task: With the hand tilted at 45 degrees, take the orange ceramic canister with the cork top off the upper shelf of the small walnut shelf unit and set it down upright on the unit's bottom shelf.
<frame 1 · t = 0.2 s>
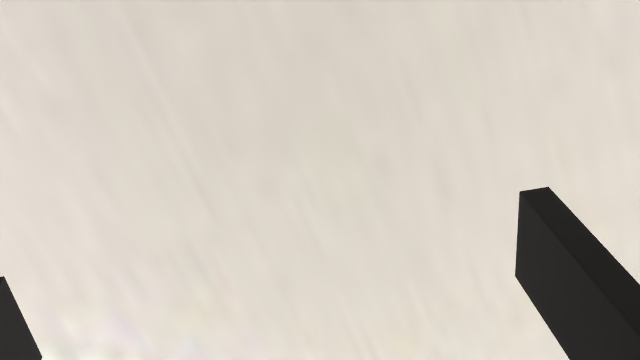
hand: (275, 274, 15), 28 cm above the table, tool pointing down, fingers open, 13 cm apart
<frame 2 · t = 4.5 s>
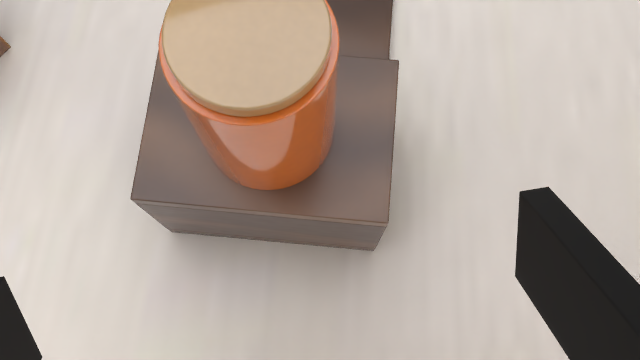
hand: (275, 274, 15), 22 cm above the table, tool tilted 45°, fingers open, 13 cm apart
canister: (269, 127, 31), point 8 cm above the table, touching shelf unit
shelf unit: (291, 73, 41), on the table
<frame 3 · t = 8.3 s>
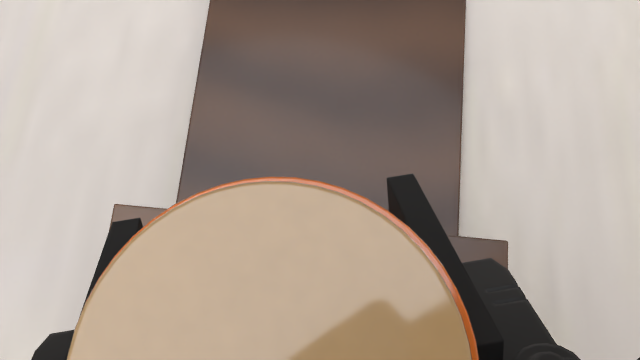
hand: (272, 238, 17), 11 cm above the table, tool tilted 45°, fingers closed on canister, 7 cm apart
shelf unit: (318, 203, 29), on the table
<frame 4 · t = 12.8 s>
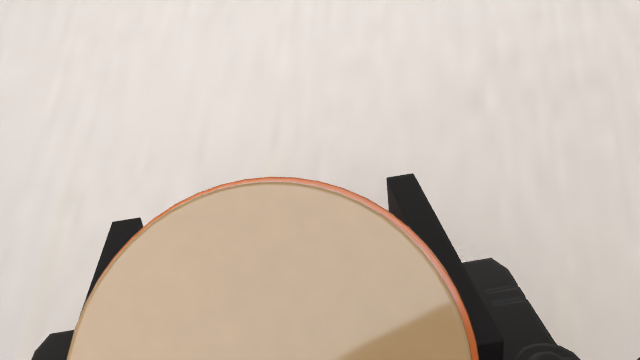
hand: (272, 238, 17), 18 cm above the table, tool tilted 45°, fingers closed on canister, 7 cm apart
when the fingers open (3 cm above the table, at t = 17.4 s): canister stays where it is, resting on shelf unit.
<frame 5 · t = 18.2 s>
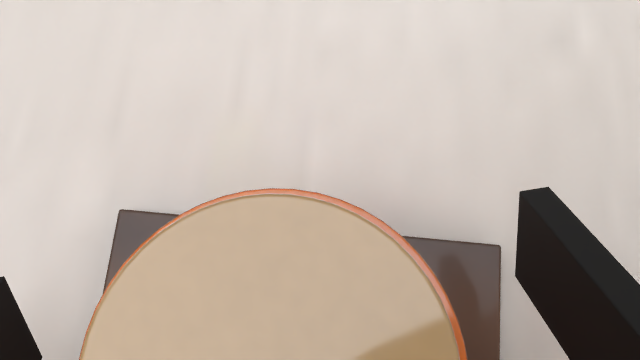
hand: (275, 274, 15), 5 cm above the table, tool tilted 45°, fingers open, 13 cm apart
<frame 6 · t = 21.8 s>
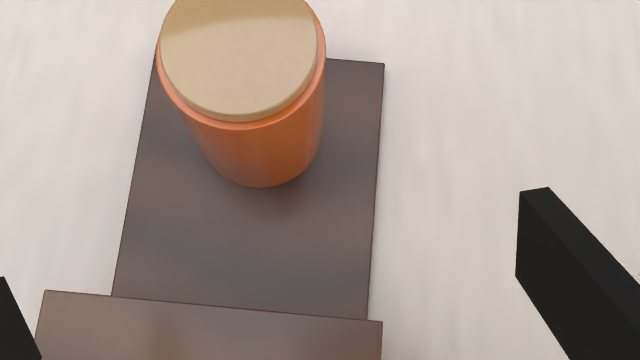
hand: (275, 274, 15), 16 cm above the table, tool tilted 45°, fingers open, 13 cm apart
canister: (260, 128, 33), point 1 cm above the table, touching shelf unit
shelf unit: (246, 262, 32), on the table
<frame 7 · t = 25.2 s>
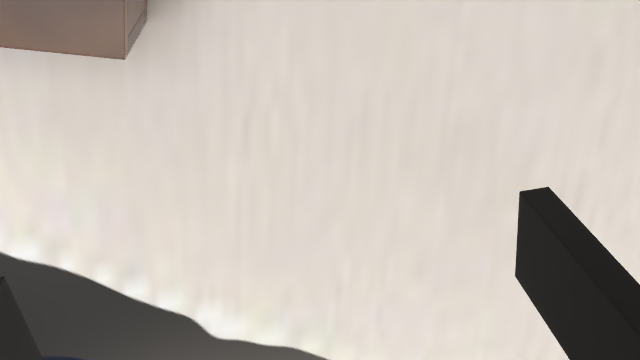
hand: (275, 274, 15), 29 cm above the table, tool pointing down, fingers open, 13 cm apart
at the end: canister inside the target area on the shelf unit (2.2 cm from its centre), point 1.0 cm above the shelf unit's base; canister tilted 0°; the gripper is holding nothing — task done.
